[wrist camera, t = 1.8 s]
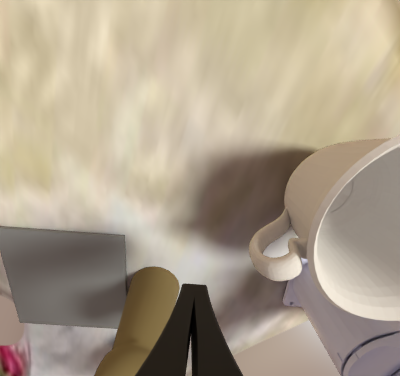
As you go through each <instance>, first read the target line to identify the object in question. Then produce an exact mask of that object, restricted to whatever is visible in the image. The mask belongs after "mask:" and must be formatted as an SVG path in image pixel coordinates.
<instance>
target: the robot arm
mask: <svg viewBox="0 0 400 376" xmlns="http://www.w3.org/2000/svg"><path fill="white" fill-rule="evenodd" d="M301 260H302V270H301V272H300V274H299V275H298V276H296V277H295V278H293V279H290V280H288V283H287V286H286V290H285V293H284V297H283V304H284V305H285V306H296V307H302V308H303V310H304V311H305V313H306V315H307V317H308V319H309V320H310V322H311V324H312V326H313V327H314V329H315V331H316V333H317V334H318V336H319V338H320V340H321V341H322V343H323V345H324V347H325V349H326V350H327V352H328V354H329V356H330V358H331V359H332V361H333V363H334V365H335V366H336V368H337V370H338V372H339V374H340V375H341V376H400V321H384V320H375V319H370V318H365V317H360V316H357V315H354V314H351V313H348V312H346V311H344V310H341V309H339V308H338V307H336V306H335V305H333V304H332V303H330V302H329V301H328V300H327V299H326V298H325V297H324V296H323V295H322V294H321V293H320V291H319V290H318V289H317V287H316V285H315V283H314V281H313V279H312V277H311V274H310V271H309V267H308V260H307V259H303V258H301ZM190 337H191V350H192V376H243V374H242V373H241V371H240V369H239V367H238V365H237V363H236V361H235V359H234V358H233V356H232V354H231V352H230V350H229V347H228V345H227V343H226V341H225V339H224V336H223V334H222V332H221V329H220V327H219V325H218V322H217V319H216V317H215V314H214V311H213V308H212V305H211V302H210V298H209V294H208V290H207V286H206V285H197V284H183V285H182V287H181V291H180V294H179V297H178V300H177V302H176V305H175V307H174V309H173V311H172V314H171V316H170V318H169V320H168V322H167V324H166V326H165V327H164V329H163V331H162V333H161V335H160V337H159V338H158V340H157V342H156V344H155V345H154V347H153V349H152V350H151V352H150V353H149V355H148V357H147V358H146V360H145V361H144V363H143V364H142V366H141V367H140V369H139V370H138V372H137V373H136V374H135V376H185V374H186V367H187V359H188V352H189V345H190Z"/></svg>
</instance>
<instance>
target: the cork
mask: <svg viewBox="0 0 400 376" xmlns="http://www.w3.org/2000/svg"><path fill="white" fill-rule="evenodd" d="M178 293H179V282H178V280H177V278H176V277H175V275H173V274H172V273H171V272H170V271H168V270H166V269H163V268H160V267H146V268H144V269H141V270H139V271H138V272H137V273H136V274H135V275H134V276H133V278H132V280H131V283H130V287H129V290H128V294H127V298H126V301H125V305H124V309H123V312H122V316H121V319H120V323H119V327H118V330H117V334H116V338H115V341H114V345H113V348H112V350H111V351H110V352H109V353H108V354H106V356H105V357H104V359H103V360H102V361H101V363H100V365H99V367H98V368H97V370H96V373H95V375H94V376H135V374H136V373H137V372H138V370H139V369H140V367H141V366H142V364H143V363H144V361H145V360H146V358H147V357H148V355H149V353H150V352H151V350H152V349H153V347H154V345H155V344H156V342H157V340H158V338H159V337H160V335H161V333H162V331H163V329H164V327H165V326H166V324H167V322H168V320H169V318H170V316H171V314H172V311H173V309H174V307H175V303H176V300H177V296H178Z"/></svg>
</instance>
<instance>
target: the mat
mask: <svg viewBox="0 0 400 376" xmlns="http://www.w3.org/2000/svg"><path fill="white" fill-rule="evenodd" d="M0 252H1V256H2V259H3V263H4V267H5V270H6V274H7V278H8V281H9V285H10V288H11V292H12V296H13V299H14V303H15V307H16V310H17V314H18V317H19V321H20V323H34V324H50V325H66V326H81V327H97V328H113V329H118V327H119V323H120V319H121V316H122V312H123V309H124V305H125V301H126V298H127V280H126V256H125V235H112V234H99V233H85V232H72V231H58V230H44V229H31V228H17V227H4V226H0Z"/></svg>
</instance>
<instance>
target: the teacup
mask: <svg viewBox="0 0 400 376" xmlns="http://www.w3.org/2000/svg"><path fill="white" fill-rule="evenodd" d="M284 204H285V209H284V211H283V213H282V214H281V216H280V217H279V218H277V219H276V220H275V221H273V222H271V223H269V224H268V225H266V226H264V227H263V228H261V229H260V230H259V231H257V232H256V233H255V235H254V236H253V237H252V239H251V241H250V244H249V254H250V258H251V260H252V262H253V265H254V266H255V268H256V269H257V270H258V272H259V273H260V274H262V275H263V276H264V277H266V278H268V279H270V280H274V281H286V280H290V279H293V278H295V277H296V276H298V275H299V274H300V272H301V270H302V260H301V258H303V259H307V260H308V267H309V271H310V274H311V277H312V279H313V281H314V283H315V285H316V287H317V289H318V290H319V291H320V293H321V294H322V295H323V296H324V297H325V298H326V299H327V300H328V301H329V302H330V303H332V304H333V305H335V306H336V307H338V308H339V309H341V310H344V311H346V312H348V313H351V314H354V315H357V316H360V317H365V318H370V319H375V320H384V321H400V135H398V136H396V137H394V138H389V139H373V140H358V141H350V142H343V143H338V144H334V145H330V146H327V147H325V148H322V149H320V150H318V151H316V152H315V153H313V154H311V155H310V156H309V157H307V158H306V159H305V160H304V161H303V162H301V163H300V165H299V166H298V167H297V168H296V169H295V170H294V172H293V173H292V175H291V177H290V178H289V181H288V183H287V186H286V190H285V196H284ZM290 224H291V225H292V227H293V229H294V231H295V233H296V234H297V236H298V237H299V239H298V238H291V239H289V241H288V248H289V253H288V254H287V255H285V256H282V257H278V258H270V257H266V256H264V255H263V252H264V250H265V248H266V247H267V246H268V245H269V244H270V243H272V242H273V241H275V240H276V239H278V238H280V237H281V236H282V235H283V234H285V233H286V231H287V230H288V229H289V227H290Z"/></svg>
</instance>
